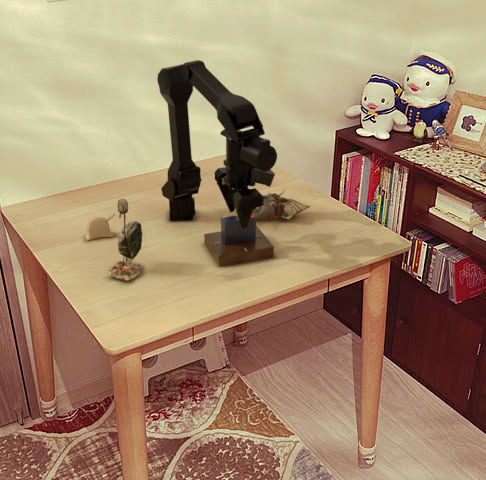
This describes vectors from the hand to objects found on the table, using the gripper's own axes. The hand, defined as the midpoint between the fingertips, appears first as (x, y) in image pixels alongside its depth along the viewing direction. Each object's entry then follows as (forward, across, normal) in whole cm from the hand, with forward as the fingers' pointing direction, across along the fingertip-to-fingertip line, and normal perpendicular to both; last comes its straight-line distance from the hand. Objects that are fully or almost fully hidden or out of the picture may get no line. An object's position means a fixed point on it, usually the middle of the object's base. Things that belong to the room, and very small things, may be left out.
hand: (238, 219), depth 173 cm
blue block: (+5, 0, 0) cm, 5 cm away
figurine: (+9, +15, -16) cm, 24 cm away
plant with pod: (+9, -1, +28) cm, 29 cm away
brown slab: (+8, 0, 0) cm, 9 cm away
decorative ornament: (+9, +20, +31) cm, 38 cm away
